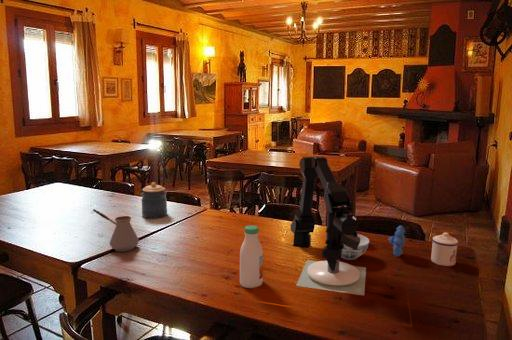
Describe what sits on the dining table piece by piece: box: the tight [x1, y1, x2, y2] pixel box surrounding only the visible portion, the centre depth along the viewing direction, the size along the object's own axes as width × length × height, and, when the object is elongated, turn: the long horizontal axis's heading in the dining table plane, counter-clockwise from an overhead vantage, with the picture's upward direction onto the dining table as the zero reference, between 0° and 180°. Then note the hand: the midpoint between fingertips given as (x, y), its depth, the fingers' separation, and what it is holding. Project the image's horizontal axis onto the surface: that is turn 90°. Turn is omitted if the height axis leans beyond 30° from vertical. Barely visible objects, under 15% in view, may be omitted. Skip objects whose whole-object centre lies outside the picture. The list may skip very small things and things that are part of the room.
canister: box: [140, 181, 168, 219], centre depth 212 cm, size 13×13×18 cm
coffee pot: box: [90, 208, 140, 253], centre depth 169 cm, size 21×12×15 cm, turn 69°
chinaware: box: [341, 233, 370, 261], centre depth 160 cm, size 15×15×8 cm
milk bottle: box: [239, 225, 264, 289], centre depth 136 cm, size 8×8×20 cm
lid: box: [307, 259, 360, 286], centre depth 143 cm, size 18×18×5 cm
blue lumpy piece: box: [387, 225, 407, 258], centre depth 163 cm, size 12×7×12 cm, turn 152°
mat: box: [295, 259, 367, 296], centre depth 143 cm, size 22×22×1 cm
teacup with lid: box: [430, 232, 459, 267], centre depth 158 cm, size 12×9×12 cm
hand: (333, 268), depth 143 cm, fingers closed on lid, 4 cm apart
